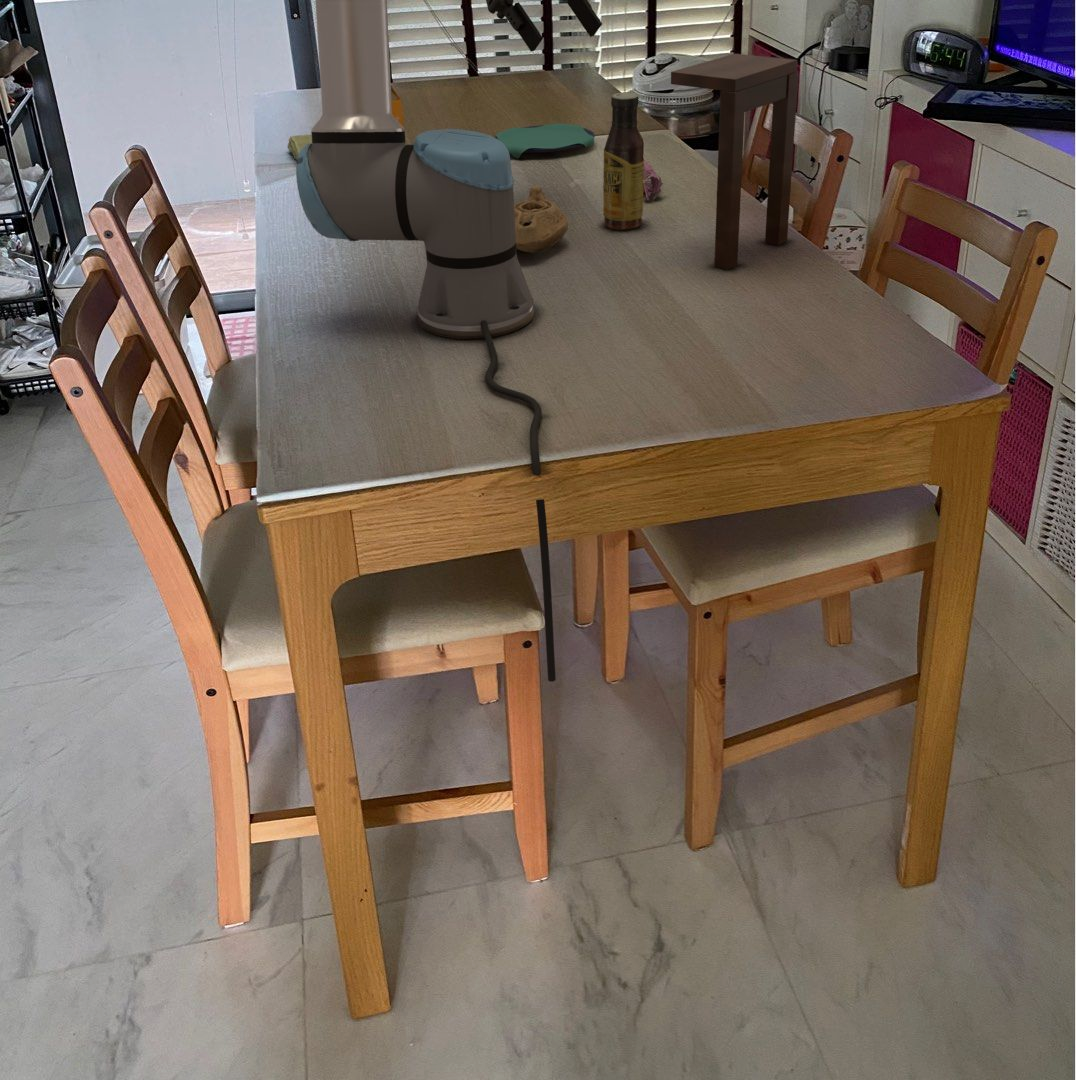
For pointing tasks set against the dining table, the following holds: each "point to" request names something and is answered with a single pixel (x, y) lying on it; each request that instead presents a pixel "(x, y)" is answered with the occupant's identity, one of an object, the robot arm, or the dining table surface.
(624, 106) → the sauce bottle
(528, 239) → the oil lamp
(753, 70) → the wooden step stool
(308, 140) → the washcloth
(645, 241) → the dining table surface
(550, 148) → the green pad
